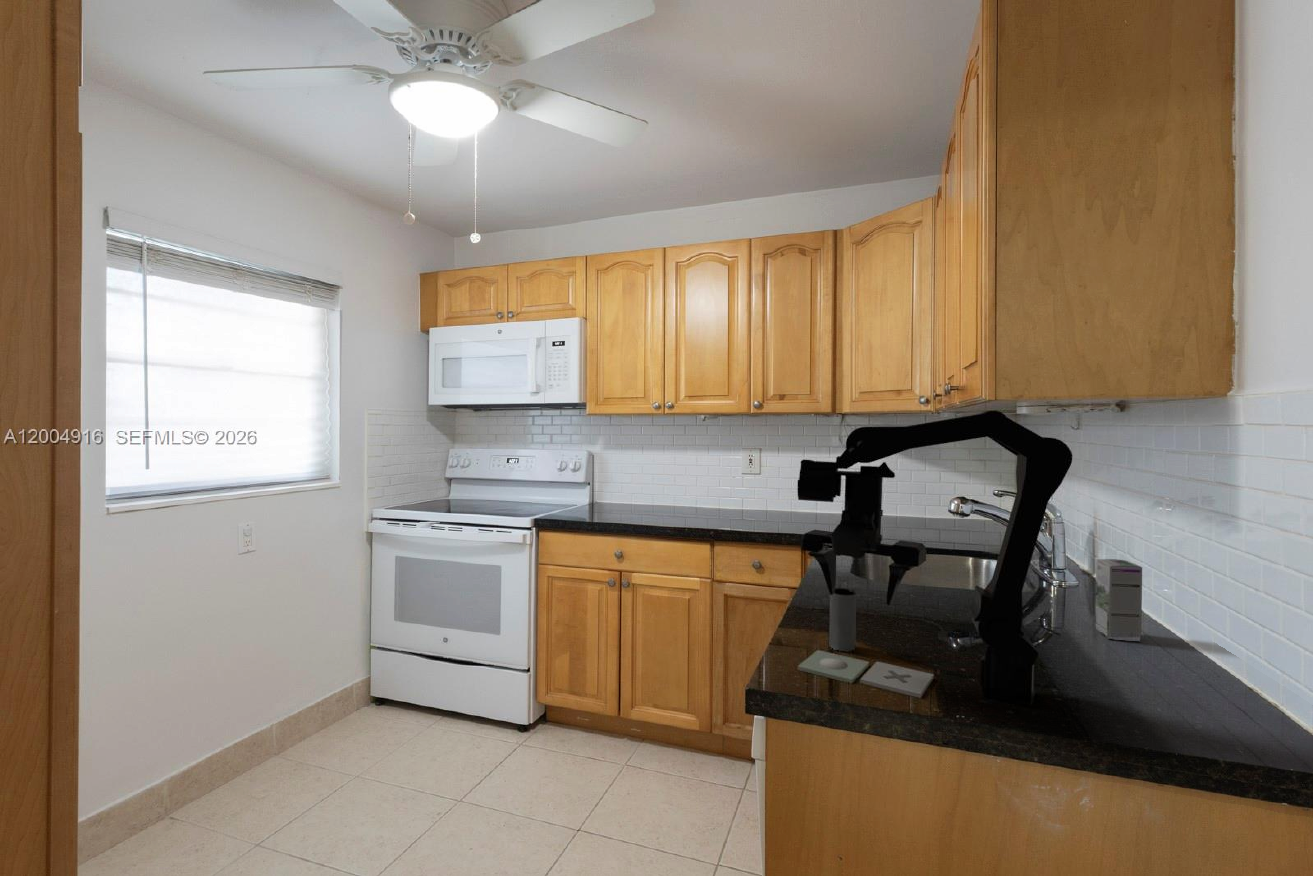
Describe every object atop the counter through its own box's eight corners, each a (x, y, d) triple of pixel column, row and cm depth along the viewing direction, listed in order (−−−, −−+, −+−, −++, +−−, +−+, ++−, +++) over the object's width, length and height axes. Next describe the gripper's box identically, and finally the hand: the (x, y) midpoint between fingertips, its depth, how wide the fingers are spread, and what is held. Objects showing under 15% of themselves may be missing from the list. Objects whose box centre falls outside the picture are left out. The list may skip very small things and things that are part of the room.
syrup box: (1142, 642, 118) (1145, 566, 118) (1107, 640, 120) (1109, 564, 119) (1126, 632, 124) (1128, 559, 124) (1092, 630, 125) (1095, 558, 125)
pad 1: (869, 665, 106) (869, 661, 106) (851, 683, 99) (851, 679, 99) (817, 653, 111) (817, 649, 111) (797, 669, 104) (797, 665, 104)
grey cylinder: (845, 642, 117) (846, 587, 117) (860, 650, 113) (861, 593, 113) (824, 644, 116) (825, 589, 116) (838, 653, 112) (839, 595, 111)
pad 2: (933, 678, 101) (933, 673, 101) (920, 698, 94) (920, 693, 94) (876, 665, 106) (876, 660, 106) (860, 683, 99) (860, 678, 99)
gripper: (788, 503, 101) (785, 600, 101) (911, 516, 90) (907, 624, 90) (814, 497, 110) (811, 585, 110) (928, 507, 99) (925, 606, 100)
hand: (859, 599), depth 102 cm, fingers open, 9 cm apart
